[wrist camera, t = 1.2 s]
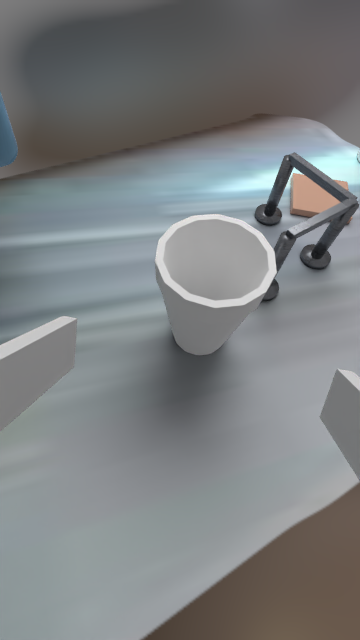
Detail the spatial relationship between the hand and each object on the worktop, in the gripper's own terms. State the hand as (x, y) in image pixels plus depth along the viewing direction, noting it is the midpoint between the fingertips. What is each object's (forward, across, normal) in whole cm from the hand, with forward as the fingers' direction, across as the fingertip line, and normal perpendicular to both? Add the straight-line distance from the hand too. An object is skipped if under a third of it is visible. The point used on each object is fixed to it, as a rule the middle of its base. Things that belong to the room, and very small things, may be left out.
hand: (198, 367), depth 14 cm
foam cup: (+19, 0, -4) cm, 19 cm away
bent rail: (+29, +10, +7) cm, 31 cm away
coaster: (+38, +15, +16) cm, 44 cm away
